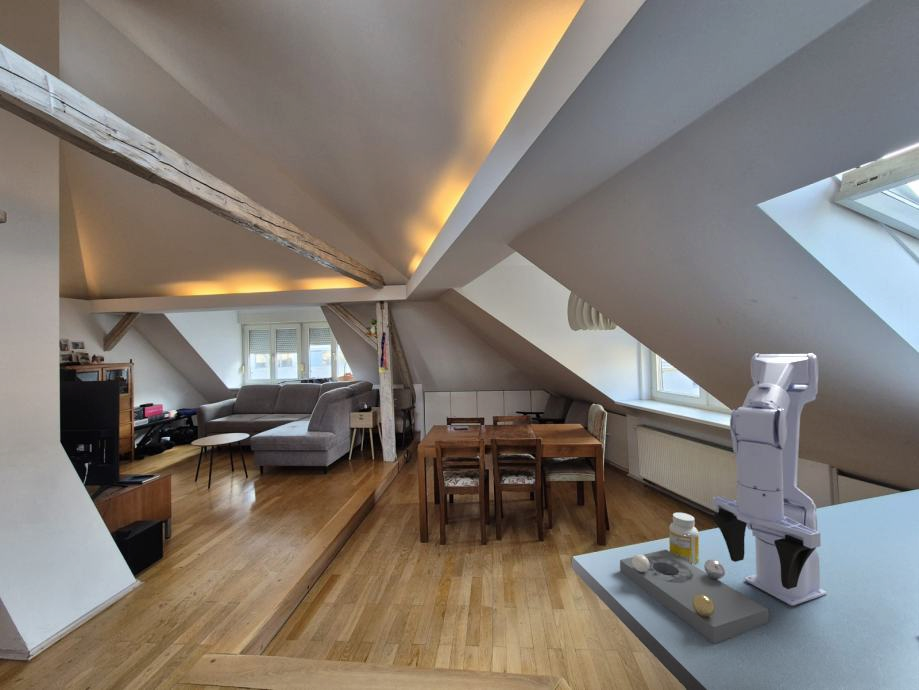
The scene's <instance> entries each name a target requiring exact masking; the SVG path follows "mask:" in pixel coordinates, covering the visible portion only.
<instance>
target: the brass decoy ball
mask: <svg viewBox="0 0 919 690" xmlns="http://www.w3.org/2000/svg"><path fill="white" fill-rule="evenodd" d="M692 603H693V607H694V609H695V611H696V612H697V613H698V614H700V615H701V616H704V617H710V616H712V615H713V614H714V611H715V607H714V604H713V602H712V600H711V599H710V598H709V597H707V596H706V595H703V594H698V595H696V596H694V598H693V601H692Z"/></svg>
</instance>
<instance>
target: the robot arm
mask: <svg viewBox="0 0 919 690" xmlns="http://www.w3.org/2000/svg"><path fill="white" fill-rule="evenodd" d="M750 377H751V380H752V383H753V386H752V387H750V389H749V390H748V392H747V394H746V397H745V399H744V401H743V404H742V406H739V407H738V408H737V410H736V409H732V412H731V413H730V419H729V420H730V421H729V430H730V435H731V440H732V451H733V453H734V454H735V455H736V456H735V457H736V458H735V459H736V488H737V489H736V497H737V499H735V500H734V499H731V498H727V497H725V496H721V495H718V496H713V497H712V498H711V504H712V507H711V508H712V509H713V510H715V511H718V512H717V513H713V521H714V522H715V523H716V525H717V527H718V529H719V530H720V533H721V535H722V537H723V539H724V541H725V545H726V547H727V550H728V554H729V557H730V560H731V561H732V562H734V563H736V562H740V561H744V560H745V559H744V558H745V536H746V528H747V529H748V530H750V531H752V533H751V534H752V537H755V538H754V542H755V543H754V544H755V569H756V570H755V573H756V574H755V573H754V574H752V575H749V576H744V581H745V582H747V583H749V584H751V585H752V586H755V587H756V588H759V589H760V590H762V591H763V592H765V593H767V594H769V595H771V596H773V597H775V598H776V599H778V600H780V601H782V602H783V603H785V604H787V605H789V606H796V605H798V604H802V603H805V602H807V601H811V600H814V599H816V598H817V599H818V598H819V597H823V596H826V595H827V591H826V590H824V589H823V588H821V577H820V575H821V573H820V572H821V571H820V568H821V567H820V556H819V553H818V550H817V548H819V547H821V532H819V531H818V517H817V515H818V514H817V505H816V504H815V502H814V500H813V499H812V498H811V497H810V496H809V495H807V494H806V493H805V492H804V491H803V490H801V489H800V488H799V487H797V486H798V467H799V466H798V465H799V464H798V463H799V448H800V447H799V446H800V427H801V414H802V411H803V409H804V407H805V404H807V403H810V402H813V401H815V400H816V398H817V396H816V395H818V392H819V391H818V390H819V389H818V388H819V387H818V385H819V360H818V356H817V355H816V354H814V353H813V352H811V353H793V354H792V353H778V354H777V353H771V354H769V353H765V354H763V353H755V354H754V355H753V356H752V357H751V359H750Z"/></svg>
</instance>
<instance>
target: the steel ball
mask: <svg viewBox="0 0 919 690" xmlns="http://www.w3.org/2000/svg"><path fill="white" fill-rule="evenodd" d="M703 569H704V572H705V573H707V574H708V575H709V576H710V577H711V578H713V579H717V580H721V579H723V578H724V576H725V575H726V574H725V573H726V570H725V567H724V564H722V562H720V561H718V560H716V559H712V558H711V559H708V560H706V561H705V562H704V568H703Z"/></svg>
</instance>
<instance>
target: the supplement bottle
mask: <svg viewBox="0 0 919 690" xmlns="http://www.w3.org/2000/svg"><path fill="white" fill-rule="evenodd" d="M695 520H696V519H695V517H694V516H693V515H691V514H688V513H685V512H673V514H672V521H673V522H671V523H670V525H669V526H668V527H669V528H668V529H669V534H668V535H669V538H668V539H669V552H671V553H673V554H675V555H676V556H678V557H680V558H681V559H683V560H685V561H687V562H688V563H690V564H695V565H697V564H698V563H699V562H698V561H699V559H700V558H699V555H700V554H699V551H700V550H699V546H700V545H699V541H700V540H699V537H700V535H699V530H698V529H697V528H696V526H695V524H696V522H695ZM688 534H690V535H688ZM684 535H686V536H684ZM696 563H697V564H696Z"/></svg>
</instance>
